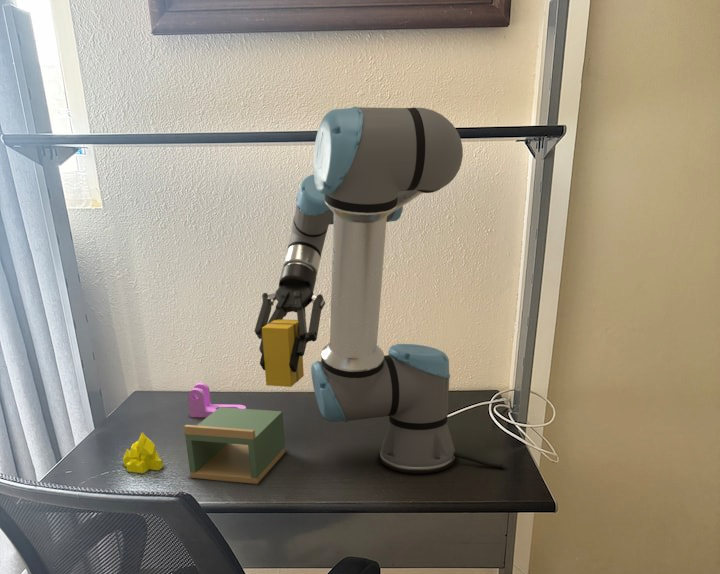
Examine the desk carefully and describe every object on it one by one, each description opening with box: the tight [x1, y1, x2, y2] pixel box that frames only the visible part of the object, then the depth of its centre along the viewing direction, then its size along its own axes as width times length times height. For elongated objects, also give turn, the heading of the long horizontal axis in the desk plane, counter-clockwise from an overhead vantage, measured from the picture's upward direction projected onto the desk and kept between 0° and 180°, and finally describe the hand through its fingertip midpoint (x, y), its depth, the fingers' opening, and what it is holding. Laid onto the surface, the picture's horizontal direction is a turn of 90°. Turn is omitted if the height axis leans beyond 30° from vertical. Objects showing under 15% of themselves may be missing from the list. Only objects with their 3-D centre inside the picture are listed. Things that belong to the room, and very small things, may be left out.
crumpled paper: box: [122, 431, 164, 474], centre depth 141 cm, size 6×8×8 cm
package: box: [262, 318, 305, 388], centre depth 145 cm, size 6×8×12 cm
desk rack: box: [183, 407, 286, 485], centre depth 141 cm, size 14×16×11 cm
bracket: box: [187, 382, 247, 418], centre depth 170 cm, size 13×6×7 cm, turn 86°
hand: (277, 367), depth 143 cm, fingers closed on package, 6 cm apart
